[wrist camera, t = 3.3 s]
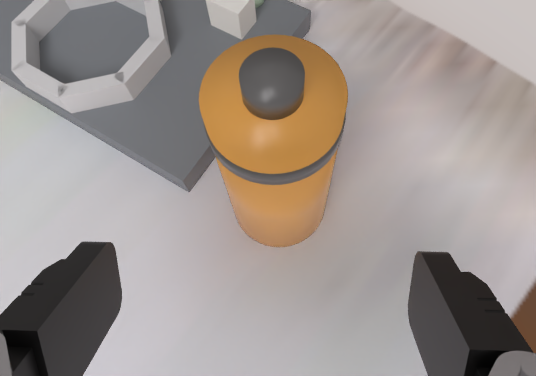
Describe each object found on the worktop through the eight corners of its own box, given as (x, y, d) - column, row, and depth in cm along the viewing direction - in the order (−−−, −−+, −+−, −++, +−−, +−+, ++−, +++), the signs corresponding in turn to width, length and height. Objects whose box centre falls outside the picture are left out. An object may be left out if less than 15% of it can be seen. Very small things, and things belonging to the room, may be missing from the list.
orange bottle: (215, 217, 23) (158, 98, 13) (264, 147, 25) (248, -10, 15) (295, 265, 22) (300, 175, 12) (342, 188, 24) (382, 50, 13)
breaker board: (-48, 51, 28) (-91, 10, 25) (84, -73, 32) (62, -122, 29) (189, 192, 24) (173, 164, 21) (309, 28, 28) (312, -17, 25)
